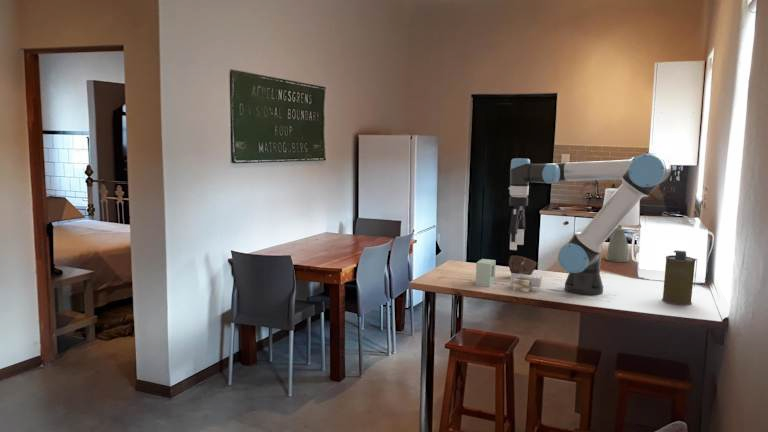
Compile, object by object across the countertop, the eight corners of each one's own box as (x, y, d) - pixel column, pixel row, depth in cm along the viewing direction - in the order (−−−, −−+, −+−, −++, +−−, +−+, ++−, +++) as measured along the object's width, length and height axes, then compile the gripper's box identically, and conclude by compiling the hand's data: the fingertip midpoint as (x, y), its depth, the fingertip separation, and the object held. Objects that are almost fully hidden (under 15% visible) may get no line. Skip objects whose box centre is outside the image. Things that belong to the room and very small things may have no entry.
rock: (534, 265, 271) (541, 256, 263) (531, 285, 267) (537, 277, 258) (508, 257, 272) (513, 249, 263) (503, 277, 268) (509, 269, 259)
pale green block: (494, 282, 257) (495, 260, 256) (489, 286, 249) (490, 264, 248) (481, 280, 259) (482, 258, 258) (475, 285, 251) (476, 262, 250)
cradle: (532, 286, 251) (533, 276, 251) (528, 292, 242) (528, 281, 241) (518, 284, 254) (519, 274, 253) (513, 290, 244) (513, 279, 243)
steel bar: (541, 285, 247) (541, 276, 246) (539, 287, 243) (540, 278, 242) (512, 282, 251) (512, 273, 251) (510, 284, 248) (510, 274, 247)
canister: (659, 302, 231) (664, 251, 228) (664, 296, 240) (668, 247, 237) (691, 307, 225) (695, 255, 222) (694, 301, 234) (699, 251, 231)
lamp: (592, 260, 310) (597, 189, 306) (605, 255, 325) (610, 187, 320) (629, 265, 299) (635, 192, 294) (641, 260, 313) (646, 190, 308)
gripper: (516, 193, 257) (514, 241, 260) (502, 198, 234) (500, 251, 237) (533, 194, 254) (531, 243, 257) (521, 199, 231) (519, 252, 234)
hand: (516, 247), depth 247 cm, fingers open, 13 cm apart
